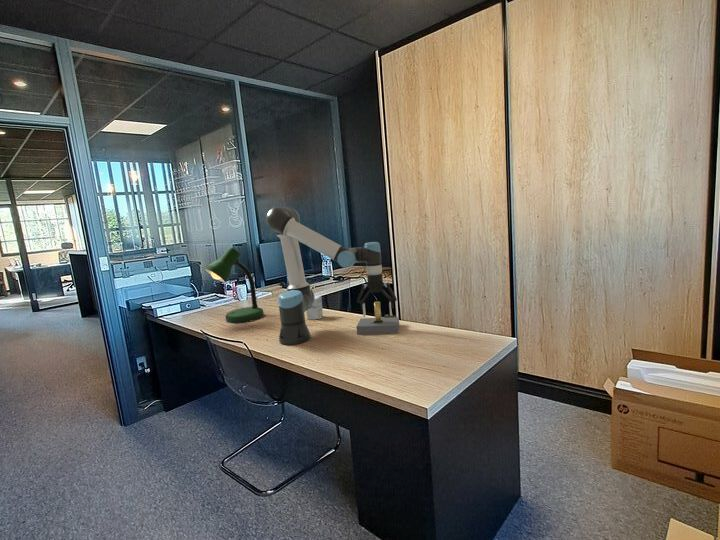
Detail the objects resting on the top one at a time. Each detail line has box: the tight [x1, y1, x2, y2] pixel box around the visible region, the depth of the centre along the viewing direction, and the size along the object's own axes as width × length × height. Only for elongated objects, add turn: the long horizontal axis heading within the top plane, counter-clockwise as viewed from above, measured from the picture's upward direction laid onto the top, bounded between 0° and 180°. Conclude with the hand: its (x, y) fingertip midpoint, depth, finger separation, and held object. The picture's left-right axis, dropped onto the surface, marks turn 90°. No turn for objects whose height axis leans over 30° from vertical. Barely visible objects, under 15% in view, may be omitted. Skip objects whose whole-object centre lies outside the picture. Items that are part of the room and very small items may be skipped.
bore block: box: [356, 316, 400, 335], centre depth 188 cm, size 14×20×4 cm
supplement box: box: [305, 295, 324, 320], centre depth 219 cm, size 7×7×13 cm
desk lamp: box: [204, 246, 265, 324], centre depth 228 cm, size 31×23×45 cm
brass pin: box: [373, 301, 382, 323], centre depth 187 cm, size 3×3×14 cm
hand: (377, 315), depth 187 cm, fingers open, 13 cm apart
